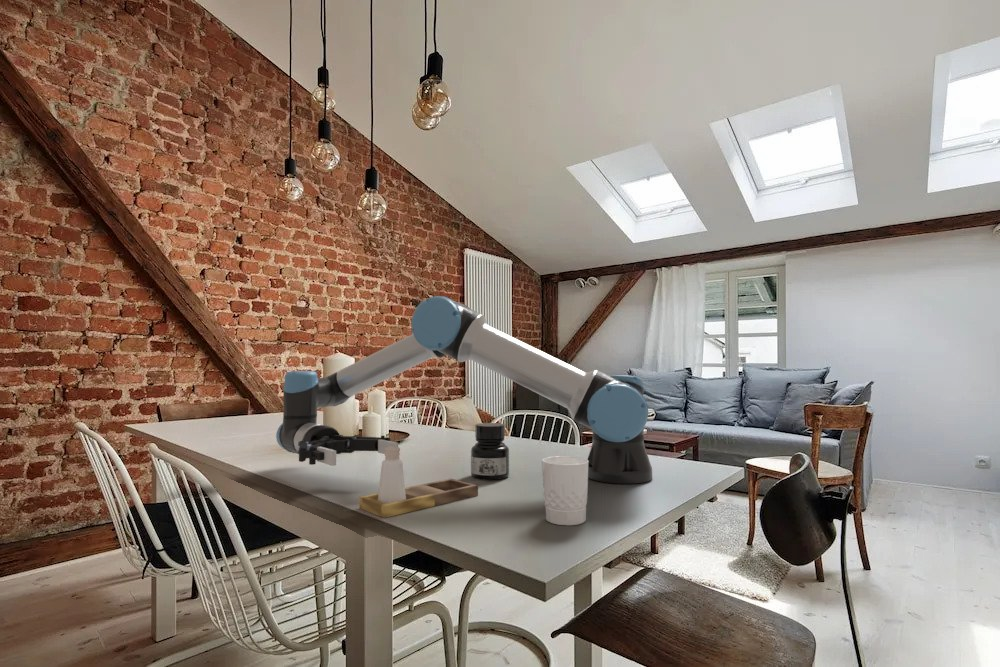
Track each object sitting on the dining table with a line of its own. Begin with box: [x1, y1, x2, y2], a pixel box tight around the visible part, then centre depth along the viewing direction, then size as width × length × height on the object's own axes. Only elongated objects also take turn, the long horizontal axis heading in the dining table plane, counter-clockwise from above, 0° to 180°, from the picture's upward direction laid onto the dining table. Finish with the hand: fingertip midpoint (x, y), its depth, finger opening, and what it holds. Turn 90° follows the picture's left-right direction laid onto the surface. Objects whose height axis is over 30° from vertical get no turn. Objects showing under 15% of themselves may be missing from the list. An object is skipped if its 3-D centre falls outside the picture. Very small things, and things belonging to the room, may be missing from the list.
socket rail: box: [358, 478, 479, 519], centre depth 101 cm, size 22×8×2 cm, turn 134°
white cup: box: [541, 455, 589, 526], centre depth 90 cm, size 8×8×10 cm
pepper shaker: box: [377, 446, 406, 504], centre depth 97 cm, size 5×5×11 cm
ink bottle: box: [470, 422, 510, 481], centre depth 123 cm, size 10×9×12 cm
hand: (367, 453), depth 103 cm, fingers open, 13 cm apart
